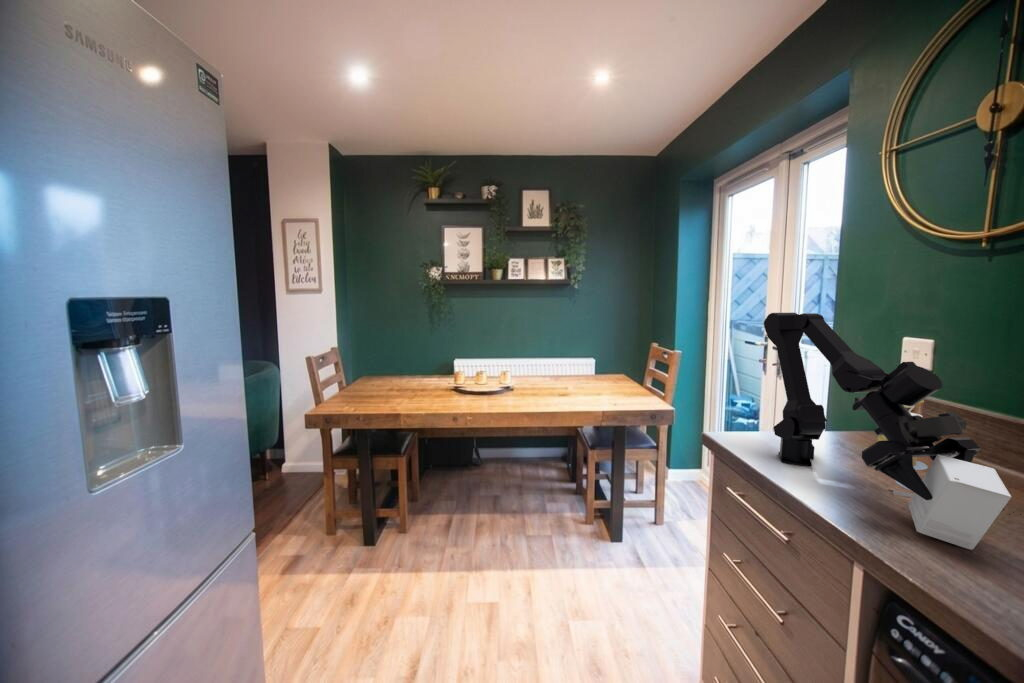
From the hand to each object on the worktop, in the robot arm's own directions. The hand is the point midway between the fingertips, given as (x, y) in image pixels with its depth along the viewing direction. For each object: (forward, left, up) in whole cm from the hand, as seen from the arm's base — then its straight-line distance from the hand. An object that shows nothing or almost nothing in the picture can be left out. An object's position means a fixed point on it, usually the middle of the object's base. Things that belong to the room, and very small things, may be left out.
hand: (954, 497), depth 70 cm
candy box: (+6, +46, -8) cm, 47 cm away
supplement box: (-1, +2, -6) cm, 7 cm away
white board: (+3, +29, -8) cm, 30 cm away
